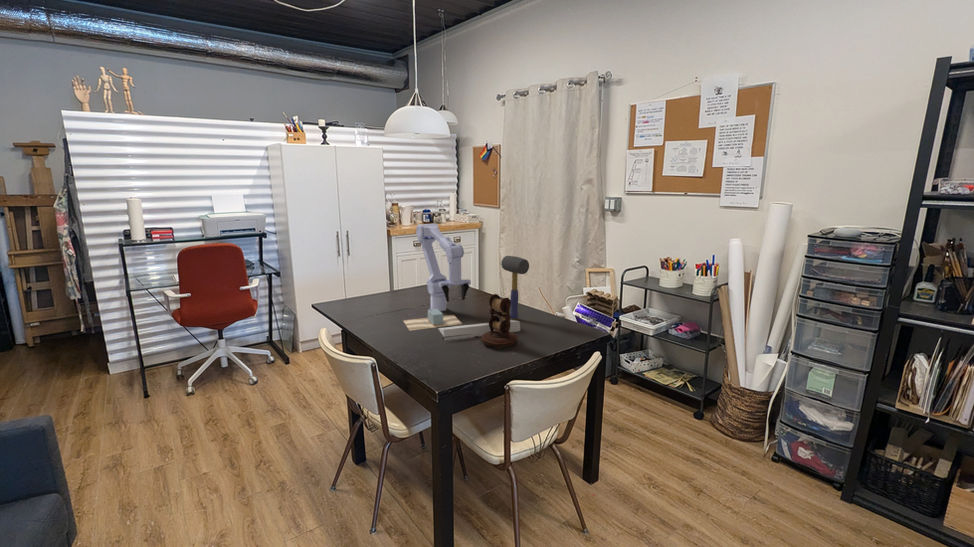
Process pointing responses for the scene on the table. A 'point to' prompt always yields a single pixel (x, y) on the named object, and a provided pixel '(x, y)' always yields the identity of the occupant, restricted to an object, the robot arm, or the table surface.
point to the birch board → (424, 323)
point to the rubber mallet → (514, 279)
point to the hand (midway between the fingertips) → (455, 300)
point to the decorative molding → (473, 330)
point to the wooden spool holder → (499, 324)
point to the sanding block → (435, 317)
